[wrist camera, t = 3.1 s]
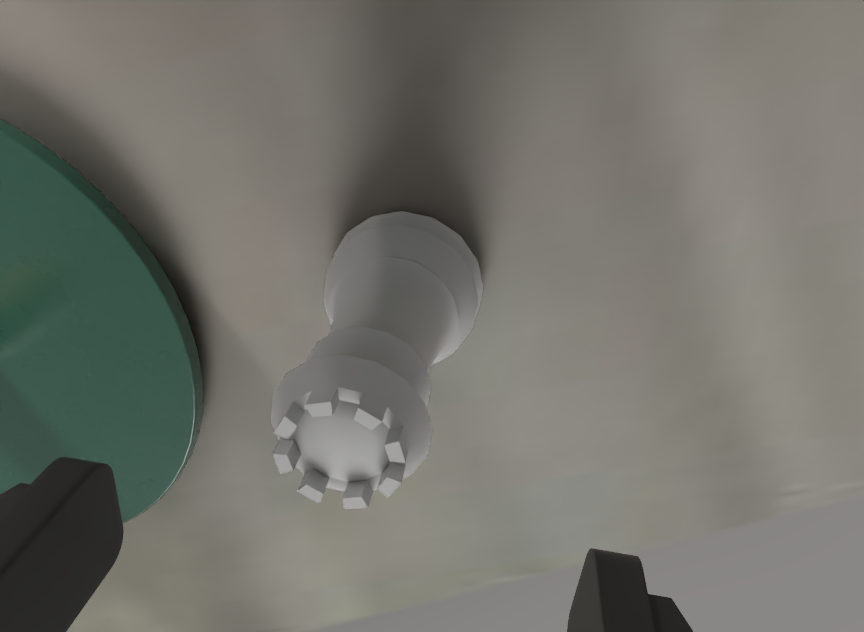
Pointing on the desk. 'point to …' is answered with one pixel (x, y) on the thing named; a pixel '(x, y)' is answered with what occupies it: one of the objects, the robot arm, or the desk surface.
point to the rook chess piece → (376, 357)
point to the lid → (87, 335)
